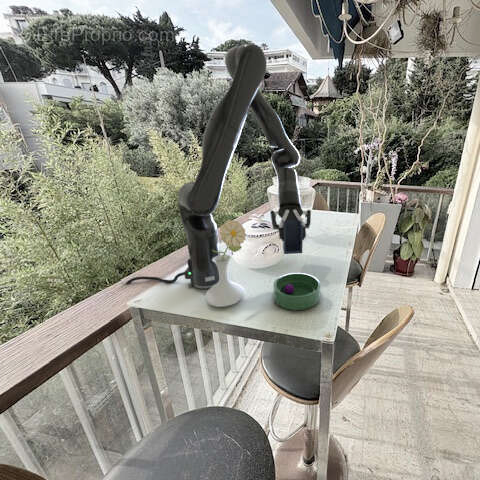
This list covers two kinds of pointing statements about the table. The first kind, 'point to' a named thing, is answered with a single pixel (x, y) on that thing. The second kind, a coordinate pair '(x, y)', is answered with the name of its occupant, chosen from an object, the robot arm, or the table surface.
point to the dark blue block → (292, 236)
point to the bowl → (297, 291)
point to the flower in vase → (226, 289)
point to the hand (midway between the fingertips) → (293, 239)
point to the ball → (289, 289)
